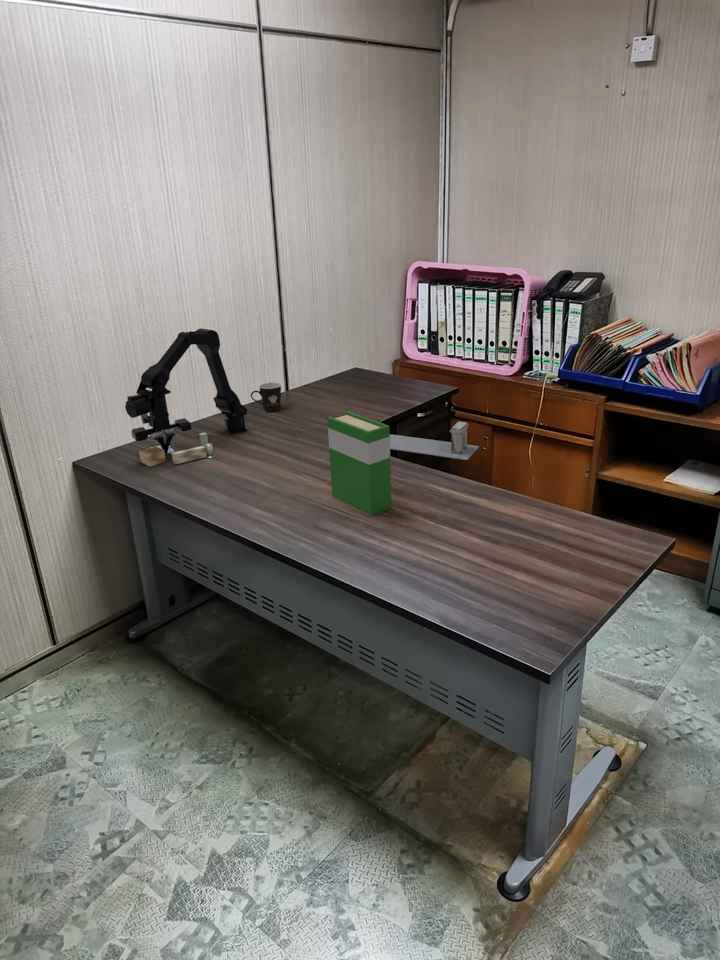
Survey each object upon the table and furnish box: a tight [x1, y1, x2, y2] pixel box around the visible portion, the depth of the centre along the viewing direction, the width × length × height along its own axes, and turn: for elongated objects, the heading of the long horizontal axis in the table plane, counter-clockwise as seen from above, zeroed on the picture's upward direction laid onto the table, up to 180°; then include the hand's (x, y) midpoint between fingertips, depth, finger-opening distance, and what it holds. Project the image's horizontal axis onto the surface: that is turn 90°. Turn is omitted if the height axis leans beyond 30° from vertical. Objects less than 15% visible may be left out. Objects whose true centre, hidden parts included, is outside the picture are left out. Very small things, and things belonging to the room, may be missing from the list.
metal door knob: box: [204, 442, 217, 459], centre depth 235 cm, size 4×4×4 cm
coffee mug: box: [250, 382, 282, 413], centre depth 277 cm, size 12×9×10 cm
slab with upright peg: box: [390, 421, 480, 461], centre depth 233 cm, size 12×33×10 cm, turn 63°
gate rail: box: [171, 445, 207, 465], centre depth 232 cm, size 11×2×4 cm, turn 121°
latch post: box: [199, 432, 209, 447], centre depth 245 cm, size 2×2×4 cm
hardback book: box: [326, 411, 392, 516], centre depth 194 cm, size 18×7×24 cm, turn 39°
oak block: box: [138, 445, 167, 467], centre depth 232 cm, size 6×6×4 cm
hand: (165, 453), depth 235 cm, fingers closed
